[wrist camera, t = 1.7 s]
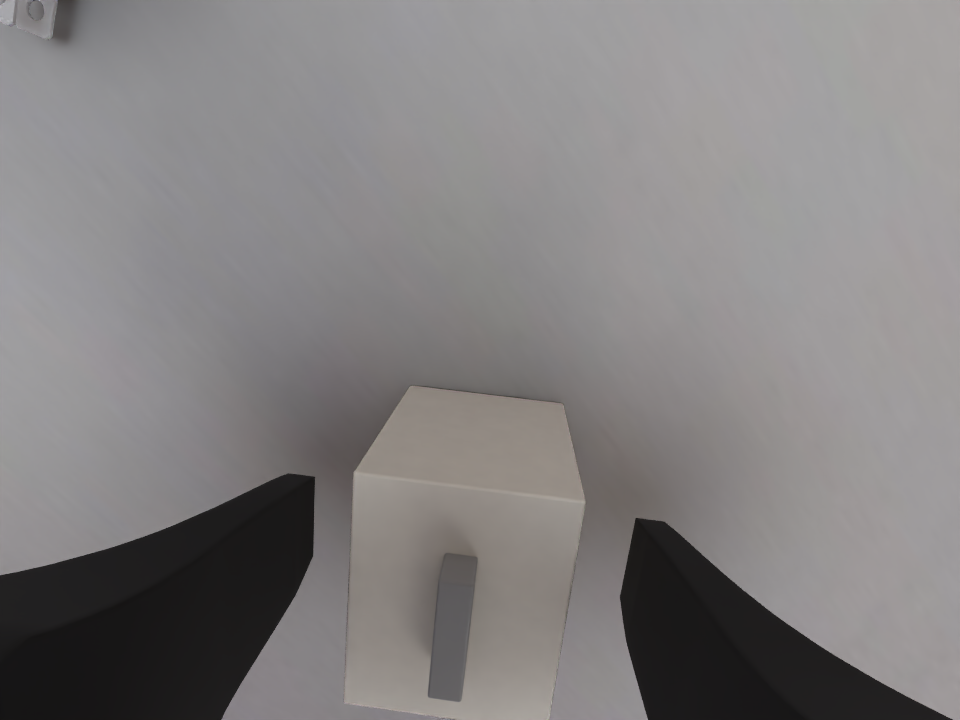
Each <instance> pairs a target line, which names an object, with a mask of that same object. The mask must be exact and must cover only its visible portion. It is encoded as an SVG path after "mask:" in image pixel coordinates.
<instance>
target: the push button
mask: <svg viewBox="0 0 960 720" xmlns="http://www.w3.org/2000/svg"><path fill="white" fill-rule="evenodd" d="M33 1H35V0H5V2H4V3H3V4H0V22H1V23H4V24H6V25H9V26H13V25H14V24H16V25H17V26H18V28H19V29H22V30H24V31H26V32H29V33H31V34H34V35H36V36H39V37H41V38H44V39H46V40H49V39H51V38H52V36H53V29H54V22H55V16H56V9H57V2H58V0H38V1H40V2H41V3H42V5H43V7H44V16H43V18H42V19H40V20H34V19H33V18H32V17H31V14H30V12H29V6H30V4H31V2H33Z"/></svg>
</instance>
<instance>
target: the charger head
mask: <svg viewBox="0 0 960 720" xmlns="http://www.w3.org/2000/svg"><path fill="white" fill-rule="evenodd" d="M585 506H586V501H585V497H584V492H583V488H582V484H581V479H580V475H579V471H578V466H577V462H576V457H575V453H574V449H573V444H572V440H571V436H570V431H569V427H568V423H567V418H566V414H565V409H564V405H563V404H562V403H554V402H546V401H538V400H529V399H521V398H512V397H504V396H495V395H487V394H479V393H470V392H462V391H453V390H445V389H437V388H428V387H420V386H410V387H409V388H408V390H407V391H406V393H405V394H404V396H403V397H402V399H401V401H400V402H399V404H398V405H397V407H396V408H395V410H394V411H393V413H392V414H391V416H390V417H389V419H388V421H387V422H386V424H385V425H384V427H383V428H382V430H381V431H380V433H379V434H378V436H377V438H376V439H375V441H374V442H373V444H372V445H371V447H370V448H369V450H368V451H367V453H366V454H365V456H364V458H363V459H362V461H361V462H360V464H359V465H358V467H357V468H356V470H355V471H354V473H353V492H352V515H351V538H350V561H349V584H348V607H347V630H346V654H345V677H344V703H345V704H352V705H359V706H365V707H372V708H379V709H386V710H393V711H400V712H407V713H414V714H421V715H427V716H434V717H441V718H448V719H455V720H549V718H550V712H551V706H552V700H553V694H554V688H555V682H556V677H557V671H558V665H559V659H560V653H561V647H562V641H563V635H564V629H565V624H566V618H567V612H568V606H569V600H570V594H571V588H572V582H573V576H574V571H575V565H576V559H577V553H578V547H579V541H580V535H581V529H582V523H583V518H584V512H585Z"/></svg>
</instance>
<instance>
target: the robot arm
mask: <svg viewBox="0 0 960 720" xmlns="http://www.w3.org/2000/svg"><path fill="white" fill-rule="evenodd" d="M314 491H315V477H312V476H305V475H297V474H289V473H288V474H286V475H283V476H280V477H278V478H276V479H273V480H271V481H269V482H267V483H265V484H263V485H261V486H259V487H256V488H254V489H252V490H250V491H248V492H246V493H244V494H242V495H240V496H238V497H236V498H234V499H232V500H229V501H227V502H225V503H223V504H221V505H219V506H217V507H215V508H213V509H210V510H208V511H206V512H203V513H201V514H199V515H196V516H194V517H192V518H190V519H187V520H185V521H183V522H180V523H178V524H176V525H173V526H171V527H168V528H166V529H163V530H161V531H158V532H156V533H153V534H150V535H147V536H145V537H142V538H139V539H136V540H133V541H130V542H127V543H124V544H121V545H118V546H115V547H112V548H109V549H106V550H102V551H98V552H95V553H91V554H87V555H84V556H80V557H76V558H73V559H69V560H66V561H62V562H58V563H55V564H51V565H47V566H42V567H38V568H33V569H29V570H24V571H20V572H15V573H10V574H5V575H0V720H221V719H222V717H223V715H224V713H225V711H226V709H227V707H228V705H229V703H230V702H231V700H232V698H233V696H234V695H235V693H236V691H237V689H238V688H239V686H240V684H241V683H242V681H243V679H244V678H245V676H246V675H247V673H248V671H249V670H250V668H251V667H252V665H253V663H254V662H255V660H256V659H257V657H258V655H259V654H260V652H261V650H262V649H263V647H264V646H265V644H266V642H267V641H268V639H269V638H270V636H271V634H272V633H273V631H274V630H275V628H276V626H277V625H278V623H279V622H280V620H281V618H282V617H283V615H284V613H285V612H286V610H287V608H288V607H289V605H290V603H291V602H292V600H293V598H294V597H295V595H296V593H297V591H298V589H299V586H300V584H301V582H302V580H303V578H304V576H305V573H306V571H307V569H308V566H309V564H310V562H311V559H312V557H313V537H314ZM620 600H621V608H622V616H623V623H624V629H625V636H626V642H627V646H628V649H629V653H630V657H631V660H632V664H633V668H634V671H635V675H636V679H637V682H638V686H639V689H640V693H641V696H642V700H643V703H644V707H645V711H646V714H647V718H648V720H952V719H950V718H948V717H946V716H944V715H942V714H940V713H938V712H936V711H934V710H932V709H930V708H928V707H926V706H924V705H922V704H920V703H918V702H916V701H914V700H912V699H910V698H908V697H907V696H905V695H903V694H901V693H899V692H897V691H895V690H894V689H892V688H890V687H888V686H886V685H884V684H882V683H881V682H879V681H877V680H875V679H874V678H872V677H870V676H868V675H867V674H865V673H863V672H862V671H860V670H858V669H857V668H855V667H853V666H851V665H850V664H848V663H846V662H845V661H843V660H841V659H840V658H838V657H836V656H835V655H833V654H831V653H830V652H828V651H827V650H825V649H824V648H822V647H820V646H819V645H817V644H816V643H814V642H813V641H811V640H810V639H808V638H807V637H806V636H804V635H803V634H801V633H800V632H798V631H797V630H795V629H794V628H792V627H791V626H789V625H788V624H787V623H785V622H784V621H782V620H781V619H780V618H778V617H777V616H776V615H774V614H773V613H771V612H770V611H769V610H768V609H766V608H765V607H764V606H762V605H761V604H760V603H759V602H757V601H756V600H755V599H754V598H752V597H751V596H750V595H748V594H747V593H746V592H745V591H743V590H742V589H741V588H740V587H739V586H737V585H736V584H735V583H734V582H733V581H731V580H730V579H729V578H728V577H727V576H726V575H724V574H723V573H722V572H721V571H720V570H719V569H718V568H716V567H715V566H714V565H713V564H712V563H711V562H710V561H709V560H707V559H706V558H705V557H704V556H703V555H702V554H701V553H700V552H699V551H697V550H696V549H695V548H694V547H693V546H692V545H691V544H690V543H689V542H687V541H686V540H685V539H684V538H683V537H682V536H681V535H680V534H679V533H677V532H676V531H675V530H674V529H673V528H672V527H670V526H669V525H668V524H666V523H665V522H663V521H656V520H648V519H640V518H636V520H635V525H634V530H633V535H632V540H631V545H630V550H629V555H628V560H627V565H626V570H625V575H624V580H623V585H622V590H621V595H620Z"/></svg>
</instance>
